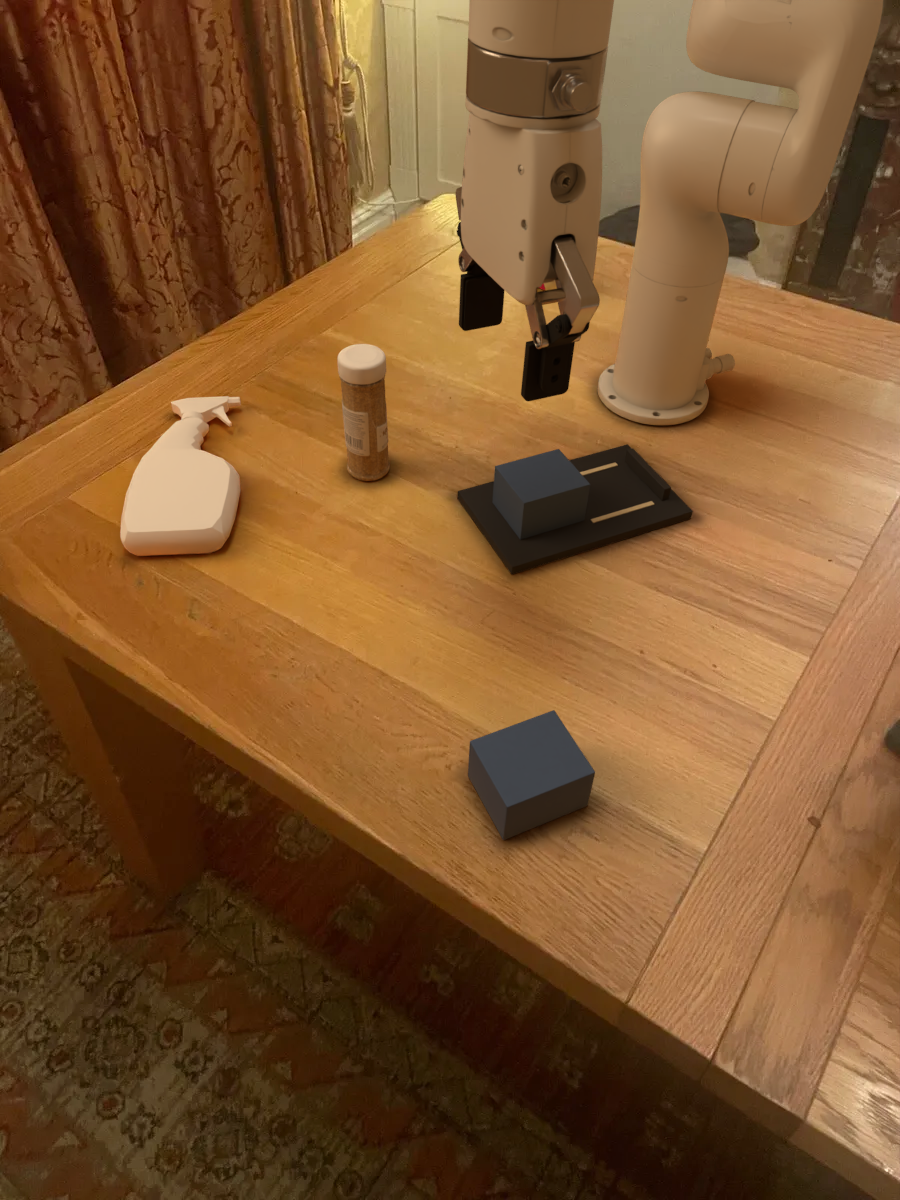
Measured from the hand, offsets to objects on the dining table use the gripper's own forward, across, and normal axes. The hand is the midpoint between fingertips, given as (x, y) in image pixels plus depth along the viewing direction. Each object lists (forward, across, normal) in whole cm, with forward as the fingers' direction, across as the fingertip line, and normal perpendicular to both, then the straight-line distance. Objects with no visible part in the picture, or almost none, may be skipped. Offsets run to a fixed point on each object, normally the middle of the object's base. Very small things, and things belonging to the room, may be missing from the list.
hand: (510, 359), depth 62 cm
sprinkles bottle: (+25, +24, +2) cm, 35 cm away
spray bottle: (+26, +30, +20) cm, 44 cm away
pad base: (+25, +10, -14) cm, 31 cm away
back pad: (+26, -17, +5) cm, 31 cm away
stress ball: (+24, +53, -33) cm, 67 cm away
